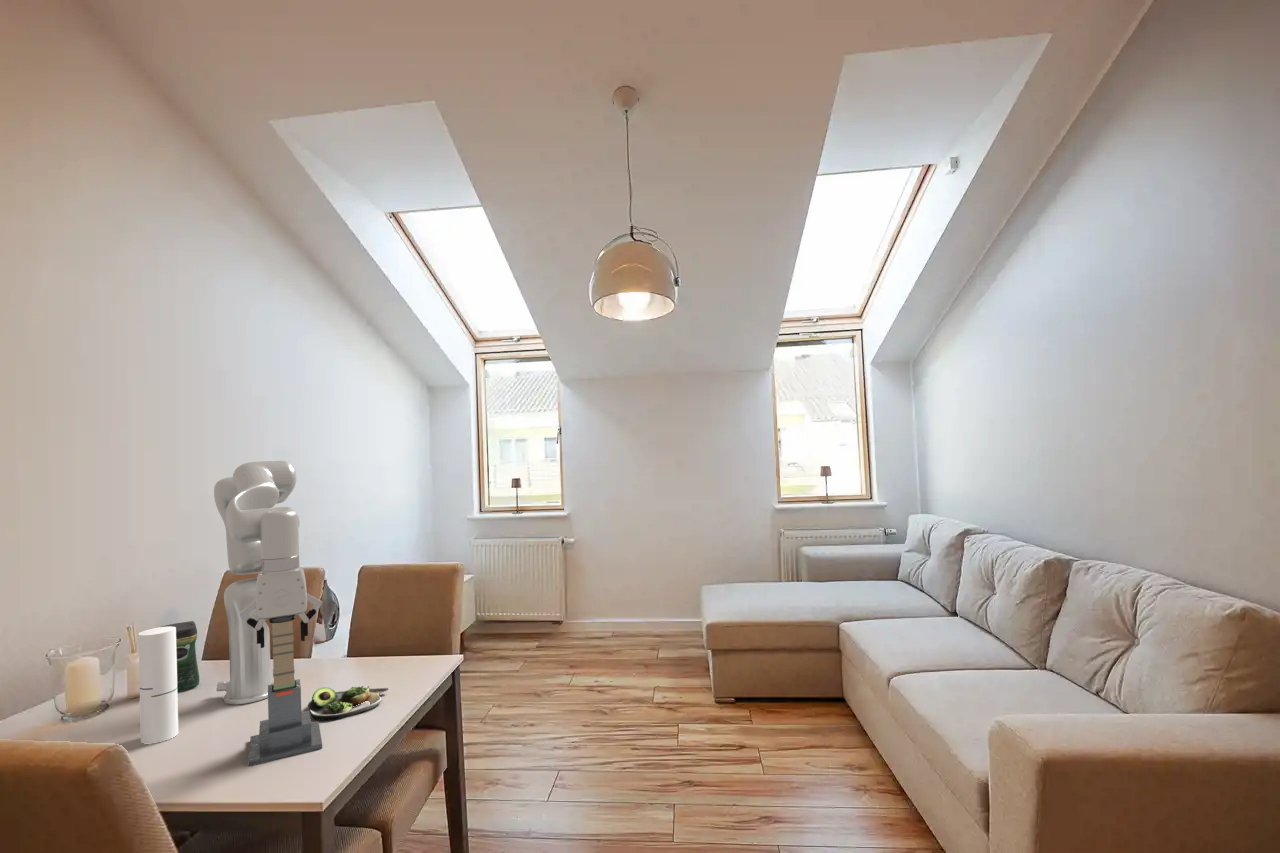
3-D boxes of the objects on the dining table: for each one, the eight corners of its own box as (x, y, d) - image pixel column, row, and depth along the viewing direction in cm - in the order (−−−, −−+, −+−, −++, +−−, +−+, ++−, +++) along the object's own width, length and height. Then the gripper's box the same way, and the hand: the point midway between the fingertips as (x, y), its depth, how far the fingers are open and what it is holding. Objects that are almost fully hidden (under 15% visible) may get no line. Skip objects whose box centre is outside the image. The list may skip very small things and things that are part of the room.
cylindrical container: (153, 732, 156) (151, 627, 157) (185, 729, 157) (182, 625, 158) (133, 745, 149) (130, 636, 150) (166, 743, 150) (163, 634, 150)
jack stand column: (271, 719, 143) (268, 619, 144) (271, 710, 148) (269, 614, 148) (298, 713, 146) (295, 615, 146) (297, 705, 150) (294, 610, 151)
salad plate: (382, 686, 182) (381, 669, 182) (397, 706, 167) (396, 688, 167) (304, 704, 171) (304, 686, 171) (313, 727, 156) (312, 707, 156)
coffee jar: (198, 680, 191) (197, 617, 192) (200, 688, 185) (198, 622, 185) (157, 689, 185) (156, 624, 186) (158, 697, 179) (156, 629, 180)
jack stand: (248, 766, 137) (246, 703, 137) (250, 740, 149) (249, 683, 149) (322, 748, 144) (320, 689, 144) (318, 725, 156) (316, 671, 156)
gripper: (234, 572, 140) (236, 655, 139) (324, 562, 148) (326, 640, 148) (236, 567, 146) (238, 646, 146) (322, 557, 155) (324, 632, 155)
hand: (282, 642), depth 147 cm, fingers open, 7 cm apart
